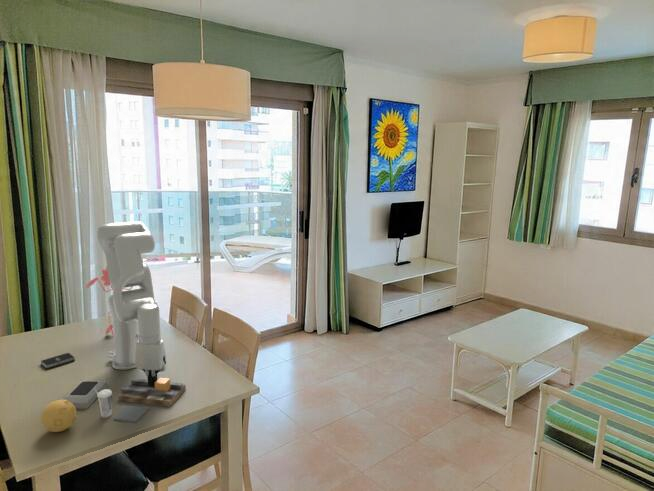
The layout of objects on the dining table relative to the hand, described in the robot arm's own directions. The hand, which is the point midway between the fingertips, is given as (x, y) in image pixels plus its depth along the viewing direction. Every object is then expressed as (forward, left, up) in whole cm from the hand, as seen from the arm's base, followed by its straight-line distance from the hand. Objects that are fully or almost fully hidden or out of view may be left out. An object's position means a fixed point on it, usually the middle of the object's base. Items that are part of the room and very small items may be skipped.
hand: (152, 384), depth 166 cm
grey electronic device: (-24, -6, -5) cm, 25 cm away
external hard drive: (-52, +16, -5) cm, 55 cm away
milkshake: (-9, -15, -5) cm, 18 cm away
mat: (-1, -13, -4) cm, 14 cm away
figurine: (-47, +51, -5) cm, 70 cm away
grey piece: (0, 0, -4) cm, 4 cm away
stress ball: (-18, -25, -5) cm, 31 cm away
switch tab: (+4, 0, -2) cm, 4 cm away
